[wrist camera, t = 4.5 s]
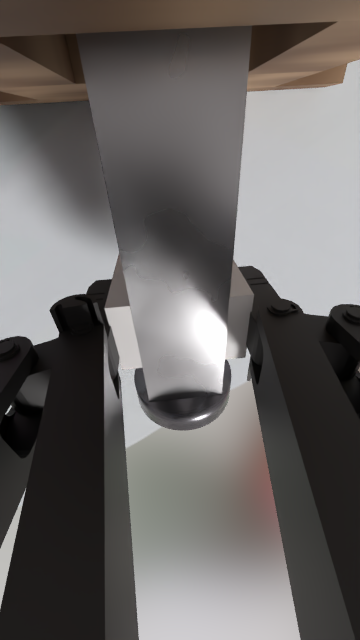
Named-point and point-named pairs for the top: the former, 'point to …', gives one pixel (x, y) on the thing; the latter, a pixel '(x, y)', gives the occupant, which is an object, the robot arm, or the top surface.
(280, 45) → the bearing block
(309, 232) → the top surface
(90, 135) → the top surface
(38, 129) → the top surface
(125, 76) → the shaft
